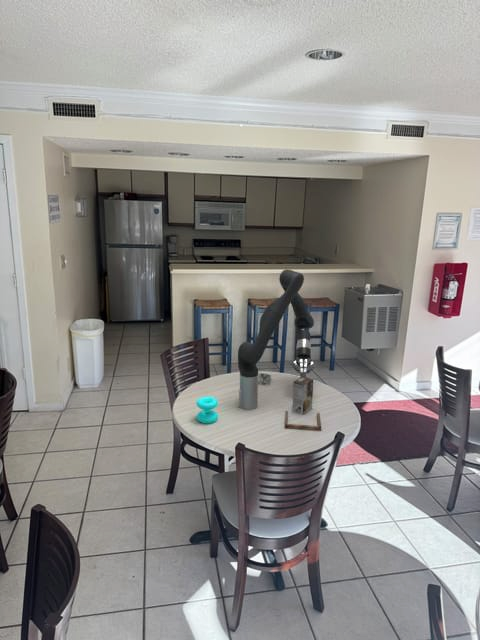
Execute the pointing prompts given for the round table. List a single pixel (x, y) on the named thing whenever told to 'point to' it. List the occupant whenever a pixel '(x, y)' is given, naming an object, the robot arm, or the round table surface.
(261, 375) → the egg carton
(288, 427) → the open wooden frame
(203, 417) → the turquoise spool
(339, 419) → the round table surface
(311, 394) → the coffee box
